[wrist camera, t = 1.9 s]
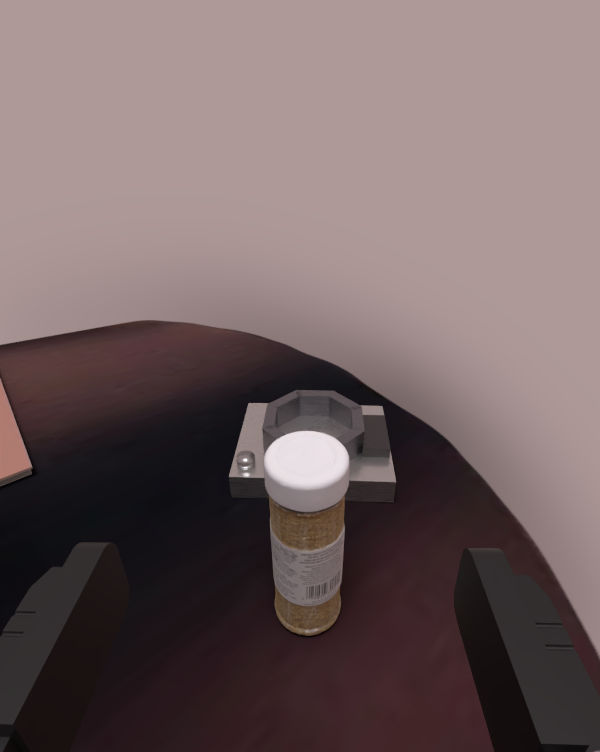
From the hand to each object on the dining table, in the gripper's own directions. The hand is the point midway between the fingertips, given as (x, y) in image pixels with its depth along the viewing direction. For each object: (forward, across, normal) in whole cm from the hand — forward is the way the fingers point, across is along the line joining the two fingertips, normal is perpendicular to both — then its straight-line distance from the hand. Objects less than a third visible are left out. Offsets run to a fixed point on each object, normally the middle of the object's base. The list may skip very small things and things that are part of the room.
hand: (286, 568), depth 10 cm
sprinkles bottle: (+12, 0, +19) cm, 23 cm away
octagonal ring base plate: (+27, 0, +18) cm, 33 cm away
